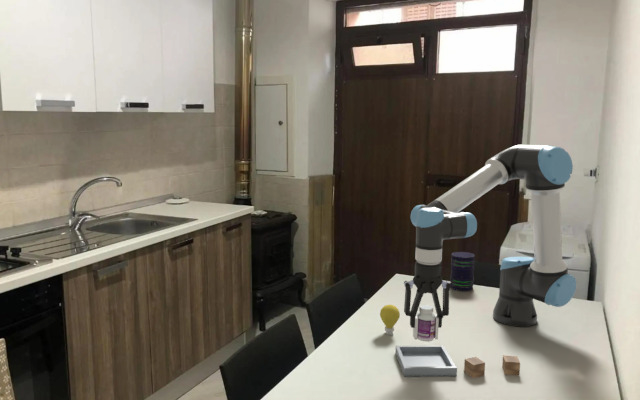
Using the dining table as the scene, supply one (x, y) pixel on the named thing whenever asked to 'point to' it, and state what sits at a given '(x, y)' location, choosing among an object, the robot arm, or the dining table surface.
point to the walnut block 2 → (511, 365)
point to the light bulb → (389, 317)
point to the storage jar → (462, 271)
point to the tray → (425, 361)
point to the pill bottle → (426, 323)
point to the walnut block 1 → (474, 367)
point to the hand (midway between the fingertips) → (425, 337)
